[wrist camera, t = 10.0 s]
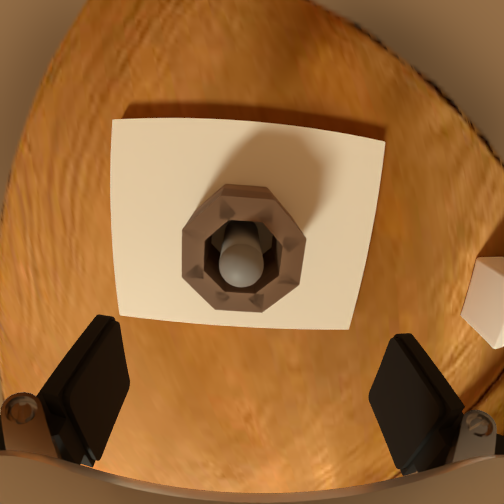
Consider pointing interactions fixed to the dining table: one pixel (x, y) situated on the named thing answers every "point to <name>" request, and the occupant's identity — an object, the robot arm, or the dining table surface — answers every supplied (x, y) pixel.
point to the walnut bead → (275, 259)
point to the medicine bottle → (486, 300)
